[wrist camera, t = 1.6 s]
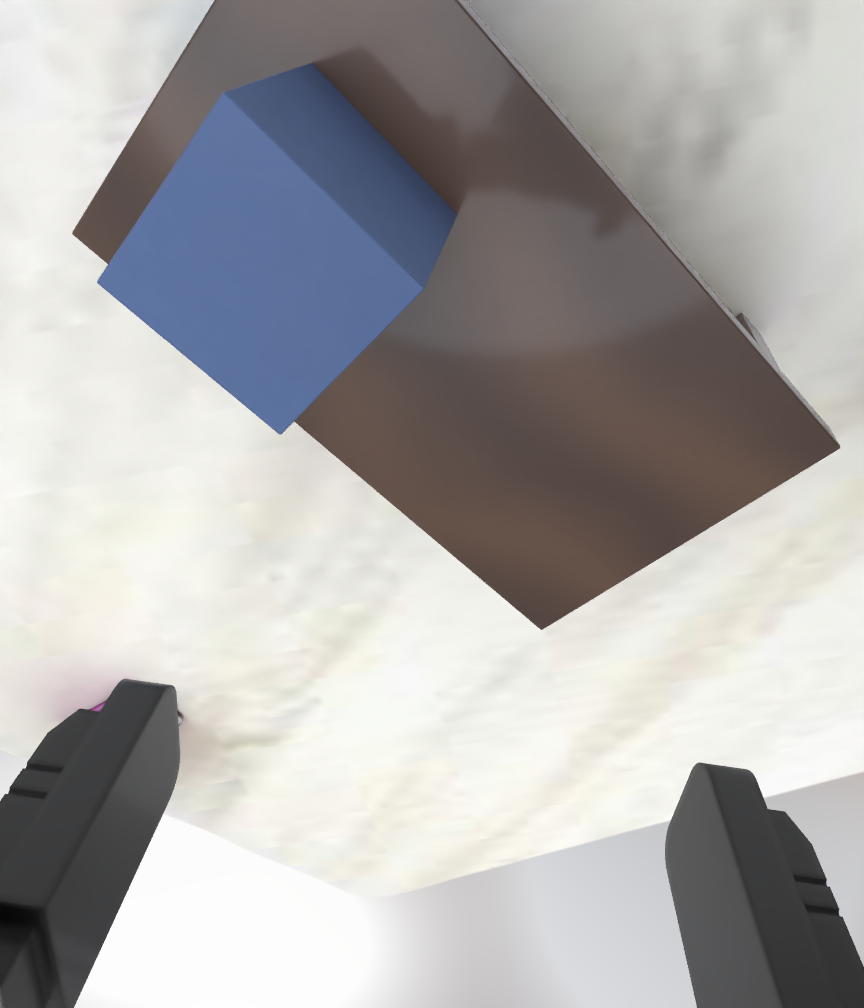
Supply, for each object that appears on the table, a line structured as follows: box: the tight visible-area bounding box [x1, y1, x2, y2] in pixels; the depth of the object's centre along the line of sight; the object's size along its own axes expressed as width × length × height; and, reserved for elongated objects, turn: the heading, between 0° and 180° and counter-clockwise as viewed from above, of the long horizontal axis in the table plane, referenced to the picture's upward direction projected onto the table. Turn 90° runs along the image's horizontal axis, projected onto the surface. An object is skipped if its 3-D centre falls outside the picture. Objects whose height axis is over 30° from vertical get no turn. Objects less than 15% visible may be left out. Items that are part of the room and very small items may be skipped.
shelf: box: [72, 0, 840, 630], centre depth 31 cm, size 14×24×11 cm, turn 47°
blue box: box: [97, 63, 457, 434], centre depth 21 cm, size 6×6×7 cm
